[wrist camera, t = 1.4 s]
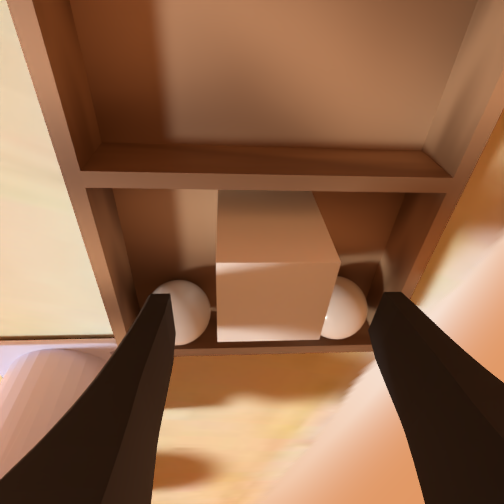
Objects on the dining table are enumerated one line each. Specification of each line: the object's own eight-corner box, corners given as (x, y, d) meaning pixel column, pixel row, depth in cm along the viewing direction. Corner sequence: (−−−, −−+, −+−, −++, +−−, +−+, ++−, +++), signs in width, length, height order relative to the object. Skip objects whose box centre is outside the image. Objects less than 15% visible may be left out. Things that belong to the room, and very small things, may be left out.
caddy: (366, 309, 21) (384, 350, 19) (133, 313, 20) (121, 357, 17) (576, -234, 8) (711, -316, 6) (-22, -311, 7) (-138, -449, 5)
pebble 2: (349, 304, 20) (367, 351, 17) (294, 305, 19) (305, 353, 17) (362, 262, 18) (385, 309, 15) (302, 263, 17) (315, 310, 15)
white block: (297, 258, 17) (319, 339, 13) (218, 258, 17) (217, 341, 13) (310, 187, 15) (341, 262, 11) (217, 186, 14) (215, 262, 11)
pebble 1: (212, 309, 19) (210, 358, 17) (154, 309, 19) (144, 359, 16) (211, 266, 17) (208, 314, 15) (146, 266, 17) (133, 316, 14)
